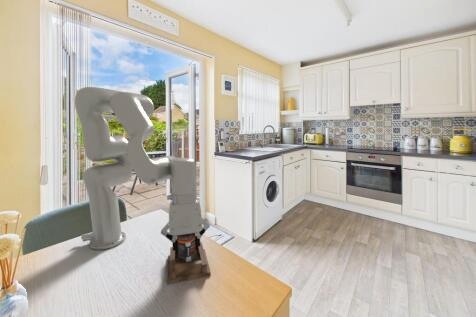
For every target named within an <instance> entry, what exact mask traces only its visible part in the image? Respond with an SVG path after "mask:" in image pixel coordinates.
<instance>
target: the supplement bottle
mask: <svg viewBox="0 0 476 317" xmlns="http://www.w3.org/2000/svg"><path fill="white" fill-rule="evenodd" d="M176 239H177V249H178V261H179V263H181V264H183V263H189V262H194V261H195V259H196V234H195V233H192V234H185V235H178V236H177V238H176Z"/></svg>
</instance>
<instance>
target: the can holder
mask: <svg viewBox="0 0 476 317" xmlns="http://www.w3.org/2000/svg"><path fill="white" fill-rule="evenodd" d="M198 248H199V250H196V259H195V261H194V262H189V263H183V264H181V263H179V261H178V253H177V254H175V250H174V251H173V246H170V248H169V250H170V251H169V253H170V254H168V255H167V266H166V285H170V284H175V283H180V282H186V281H189V280H194V279H199V278H204V277H210V276H211V275H212V274H211V269H210V268H211V267H210V264H209V260H208V256H207V254H206V252H207V251H206V249H204V245H203V242H201V241H200V246H198Z"/></svg>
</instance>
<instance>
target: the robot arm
mask: <svg viewBox="0 0 476 317" xmlns="http://www.w3.org/2000/svg"><path fill="white" fill-rule="evenodd" d="M74 107H75V108H74V109H75V111H76V114H77V116H78V119H79V122H80V125H81V126H80V127H81V131H82V139H83V148H84V153H85V156H86V159H88V160H89V161H90V162H95V163H97V162H104V161H105V162H106V161H112V160H113V162H107V163H102V164H96V165H93V166H92V165H91V166H90V167H88V168H87V169H85V170H84V172H83V174H82V181H83V183H84V184H83V185H84V187H85V189H86V193H87V197H88V203H89V211H90V219H91V228H92V232H90V233H84V234H83V233H82V234H81V236H80V238H81V240H82V242H88V241H89V248H90V249H91V250H95V251H96V250H97V251H101V250H108V249H111V248H113V247H117V246H118V245H120V244H122V243H123V242H124V241H125V240H126V238H127V235H126V233H125V232H123V231H122V225H121V218H120V215H121V214H120V206H119V198H118V195H117V194H116V192H114V191H113V190H112V188H114V187H117V186H121V185H123V184H127V183H128V182H130V181H131V179H133V178H132V177H133V173H135V175H136V177H138V179H139V180H140V181H141V182H142V183H145V184H148V185H154V184H157V183H160V182H162V181H163V182H164V181H166V180H170V183H171V193H170V194H168V195H167V196H166V198H167V199H166V200H167V201H168V200H169V201H170V203H169V209H168V222H167V223H166V224H165V225H164V226H163V227H162V229H161V230H160V234H161V235H162V236H163V237H165V238H166V239H167V240H169V241H170V242H171V243H172V247H173V251H174V250H175V254H177V253H178V249H177V236H178V235H185V234H192V233H195V235H196V250H199V248H198V246H200V242H201V238H202V236H203V235H204V234H205V233H206V231H207V230H209V229H210V227H211V225H210V223H209V222H208V221H206V219H204V218H203V214H202V207H201V203H200V200H199V199H198V198H197V193H198V192H197V171H196V168H197V167H196V165H197V164H196V162H195V160H194V159H193V158H189V157H177V156H174V155H165V156H159V157H154V158H150V157H149V155H148V153H147V151H146V150H145V148H144V144H143V142H144V141H145V140H147V139H148V138H149V137H151V136H152V135H153V133H154V132H155V126H154V124H153V123H152V121H151V120H150V117H152V115H153V114H154V111H155V105H154V103H153V101H152V100H151V99H150V97H148V96H147V95H144V94H141V93H133V92H128V91H121V90H115V89H109V88H104V87H97V86H87V87H82V88H80V89H79V90H77V92H76V93H75V97H74ZM102 113H105V114H106V113H107V114H114V115H115V117H116V119H117V120H118V121H119V123H120V125H121V126H122V128H123V130H124V131H125V133H126V135H127V136H128V139H127V138H125V137H124V136H121V135H111V134H110V125H109V122H108V121H107V119H106V118H105V117H104V115H102Z"/></svg>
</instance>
